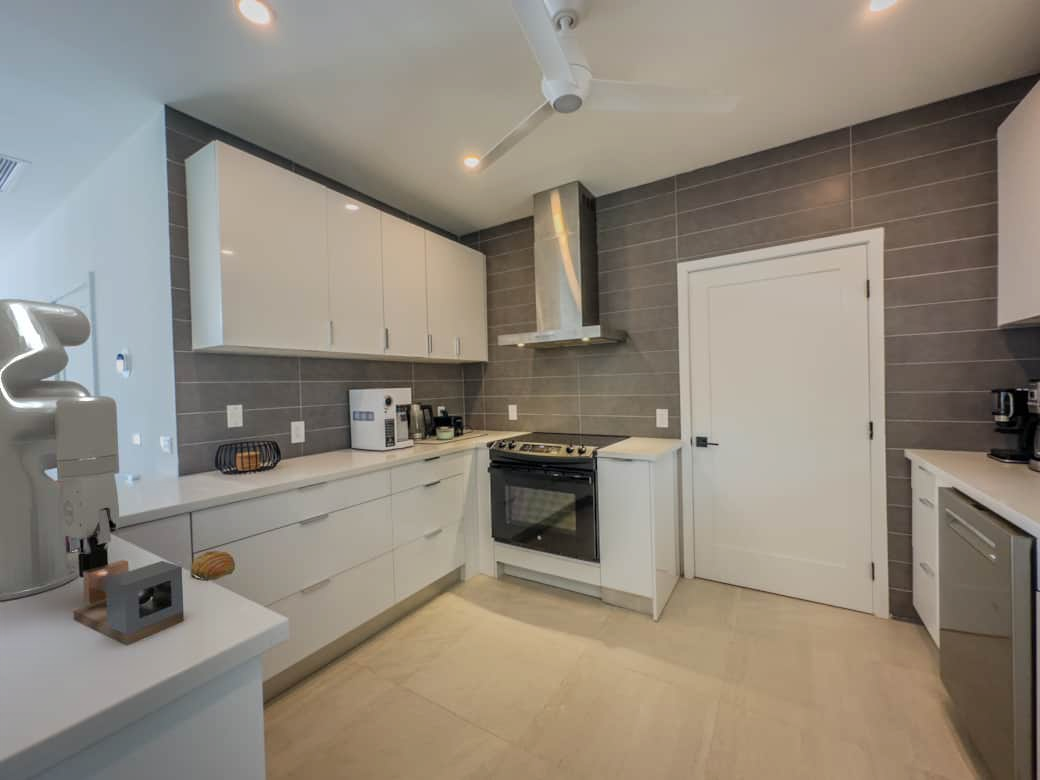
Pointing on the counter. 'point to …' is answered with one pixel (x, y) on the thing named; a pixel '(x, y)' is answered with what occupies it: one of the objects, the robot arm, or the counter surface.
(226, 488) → the counter surface
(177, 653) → the counter surface
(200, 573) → the pastry
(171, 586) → the shaft frame
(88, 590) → the shaft
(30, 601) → the counter surface
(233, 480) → the counter surface
